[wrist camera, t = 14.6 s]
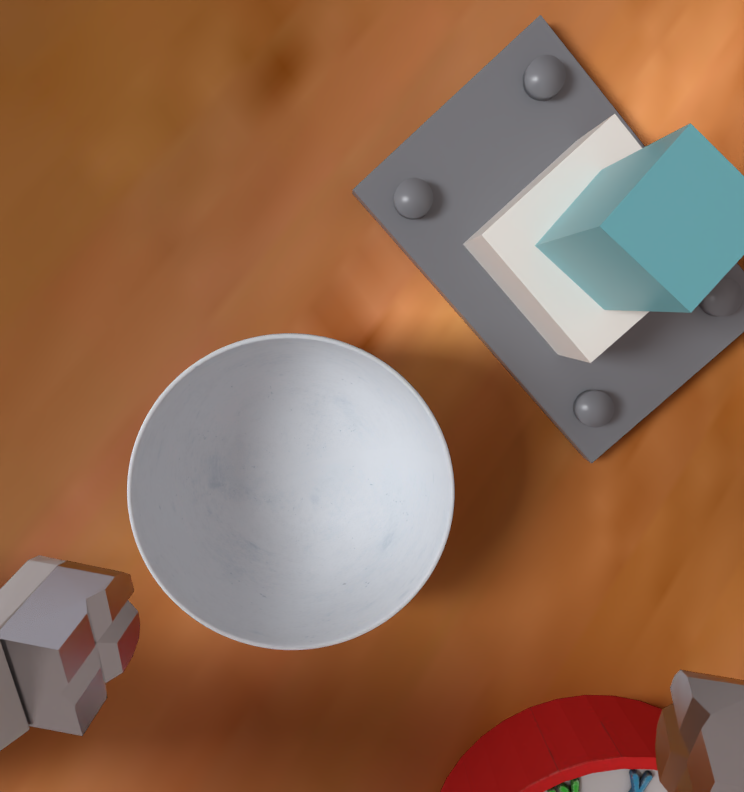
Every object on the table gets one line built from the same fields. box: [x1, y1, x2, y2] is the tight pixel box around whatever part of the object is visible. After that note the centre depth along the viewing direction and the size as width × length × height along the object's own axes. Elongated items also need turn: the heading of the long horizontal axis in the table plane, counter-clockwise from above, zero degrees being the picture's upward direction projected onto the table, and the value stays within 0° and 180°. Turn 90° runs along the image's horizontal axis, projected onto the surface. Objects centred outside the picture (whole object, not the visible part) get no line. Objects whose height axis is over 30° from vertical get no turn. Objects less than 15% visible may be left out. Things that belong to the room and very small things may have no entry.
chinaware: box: [127, 333, 455, 650], centre depth 34 cm, size 15×15×8 cm
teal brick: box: [535, 123, 744, 313], centre depth 27 cm, size 4×4×8 cm
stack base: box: [353, 15, 744, 463], centre depth 34 cm, size 13×20×6 cm, turn 42°
